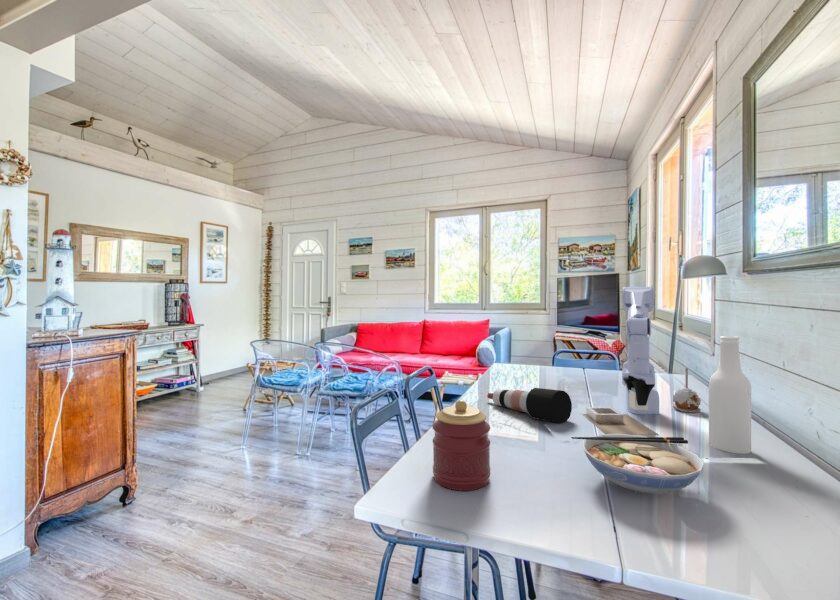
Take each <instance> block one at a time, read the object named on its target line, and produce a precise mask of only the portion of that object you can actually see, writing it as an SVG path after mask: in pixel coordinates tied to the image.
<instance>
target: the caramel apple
mask: <svg viewBox="0 0 840 600" xmlns="http://www.w3.org/2000/svg"><path fill="white" fill-rule="evenodd" d="M688 370H689V369H688V368H687V367H685V387H683V388H679V389H678V390H676V391H675V392H674V394H673V395H672V396H673V397H672V401H673V402H674V404H673V407H672V408H673V409H675V410H677V411H681V412H683V411H685V412H684V413H700V412H701V408H700V405H701V400H702V399H701V397H699V394H698V392H696V391H695V390H693V389H692V388H691V387H690V388H689V386H688V385H689V376H688V375H689V371H688ZM699 411H700V412H699Z"/></svg>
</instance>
